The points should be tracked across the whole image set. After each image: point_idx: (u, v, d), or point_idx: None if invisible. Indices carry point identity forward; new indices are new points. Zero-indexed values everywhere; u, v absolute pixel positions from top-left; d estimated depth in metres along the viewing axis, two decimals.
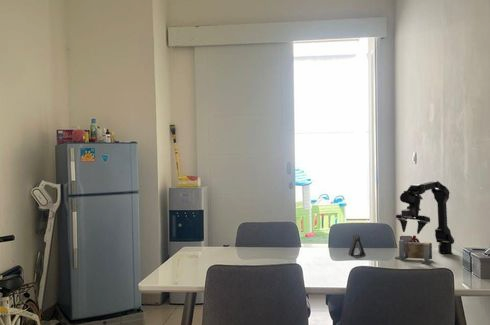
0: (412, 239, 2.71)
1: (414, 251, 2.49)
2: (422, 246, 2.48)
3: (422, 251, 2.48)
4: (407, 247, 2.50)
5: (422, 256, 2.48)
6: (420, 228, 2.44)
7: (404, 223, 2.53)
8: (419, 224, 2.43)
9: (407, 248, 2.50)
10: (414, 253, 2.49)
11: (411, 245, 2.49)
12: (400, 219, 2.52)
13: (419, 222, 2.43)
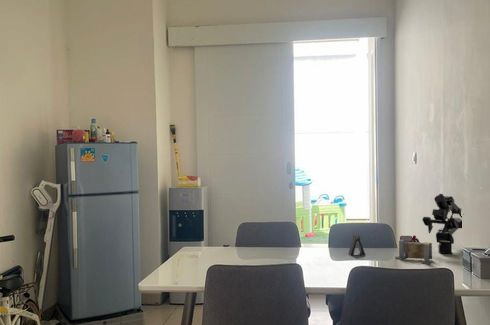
0: (412, 239, 2.71)
1: (414, 251, 2.49)
2: (422, 246, 2.48)
3: (422, 251, 2.48)
4: (407, 247, 2.50)
5: (422, 256, 2.48)
6: (445, 230, 2.56)
7: (431, 226, 2.63)
8: (446, 225, 2.56)
9: (407, 248, 2.50)
10: (414, 253, 2.49)
11: (411, 245, 2.49)
12: (428, 220, 2.63)
13: (446, 223, 2.56)
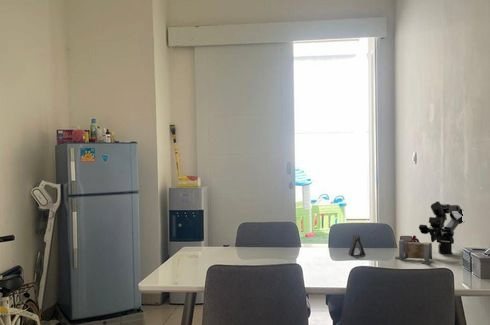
0: (412, 239, 2.71)
1: (414, 251, 2.49)
2: (422, 246, 2.48)
3: (422, 251, 2.48)
4: (407, 247, 2.50)
5: (422, 256, 2.48)
6: (435, 237, 2.55)
7: (433, 235, 2.57)
8: (436, 233, 2.55)
9: (407, 248, 2.50)
10: (414, 253, 2.49)
11: (411, 245, 2.49)
12: (431, 229, 2.57)
13: (437, 231, 2.55)
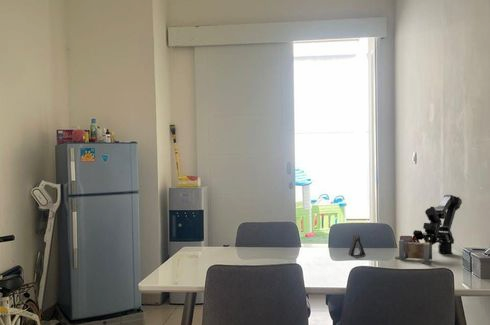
0: (412, 239, 2.71)
1: (414, 251, 2.49)
2: (422, 246, 2.48)
3: (422, 251, 2.48)
4: (407, 247, 2.50)
5: (422, 256, 2.48)
6: None
7: (428, 241, 2.51)
8: (431, 239, 2.49)
9: (407, 248, 2.50)
10: (414, 253, 2.49)
11: (411, 245, 2.49)
12: (425, 235, 2.52)
13: (432, 237, 2.49)
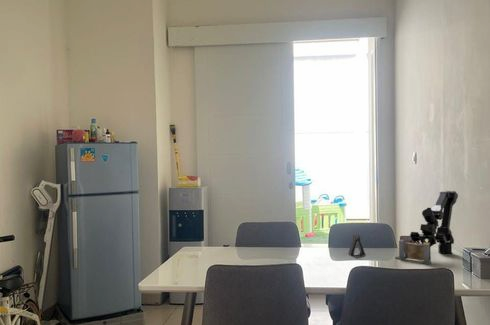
0: None
1: (413, 252, 2.47)
2: (420, 247, 2.44)
3: (420, 252, 2.44)
4: (406, 247, 2.50)
5: (420, 257, 2.44)
6: None
7: None
8: (429, 240, 2.45)
9: (406, 248, 2.50)
10: (413, 253, 2.47)
11: (410, 245, 2.48)
12: (422, 236, 2.48)
13: (430, 238, 2.45)
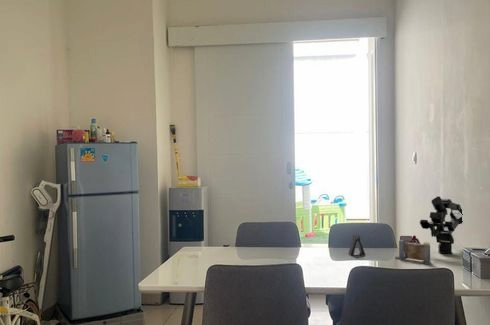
0: (412, 239, 2.71)
1: (413, 252, 2.47)
2: (420, 247, 2.44)
3: (420, 252, 2.44)
4: (406, 247, 2.50)
5: (420, 257, 2.44)
6: (437, 232, 2.55)
7: (433, 229, 2.58)
8: (437, 228, 2.55)
9: (406, 248, 2.50)
10: (413, 253, 2.47)
11: (410, 245, 2.48)
12: (431, 224, 2.58)
13: (438, 225, 2.55)
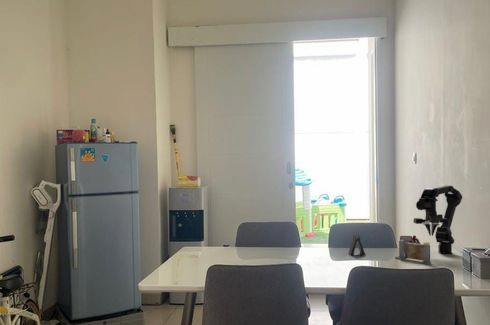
0: (412, 239, 2.71)
1: (413, 252, 2.47)
2: (420, 247, 2.44)
3: (420, 252, 2.44)
4: (406, 247, 2.50)
5: (420, 257, 2.44)
6: None
7: None
8: (435, 227, 2.58)
9: (406, 248, 2.50)
10: (413, 253, 2.47)
11: (410, 245, 2.48)
12: (429, 224, 2.57)
13: (436, 225, 2.57)
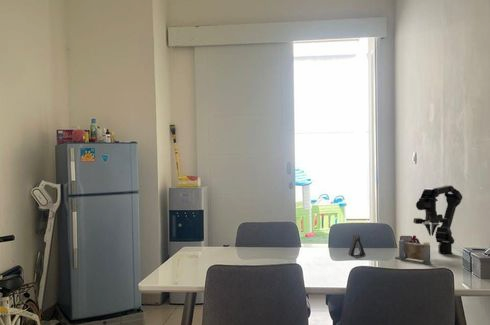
0: (412, 239, 2.71)
1: (413, 252, 2.47)
2: (420, 247, 2.44)
3: (420, 252, 2.44)
4: (406, 247, 2.50)
5: (420, 257, 2.44)
6: None
7: None
8: (435, 227, 2.58)
9: (406, 248, 2.50)
10: (413, 253, 2.47)
11: (410, 245, 2.48)
12: (429, 224, 2.57)
13: (436, 225, 2.57)
